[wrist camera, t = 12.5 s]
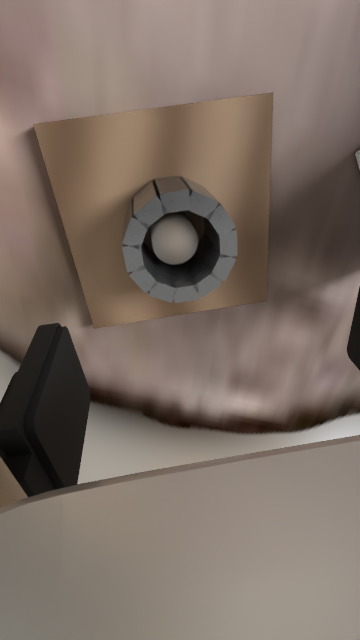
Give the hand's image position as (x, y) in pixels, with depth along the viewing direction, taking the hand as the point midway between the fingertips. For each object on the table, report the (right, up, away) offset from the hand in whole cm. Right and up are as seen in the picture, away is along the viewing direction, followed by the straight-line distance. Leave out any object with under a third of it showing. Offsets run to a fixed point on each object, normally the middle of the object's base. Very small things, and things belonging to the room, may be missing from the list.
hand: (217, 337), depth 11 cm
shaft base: (-2, +7, +13) cm, 15 cm away
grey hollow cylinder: (-2, +7, +12) cm, 14 cm away
